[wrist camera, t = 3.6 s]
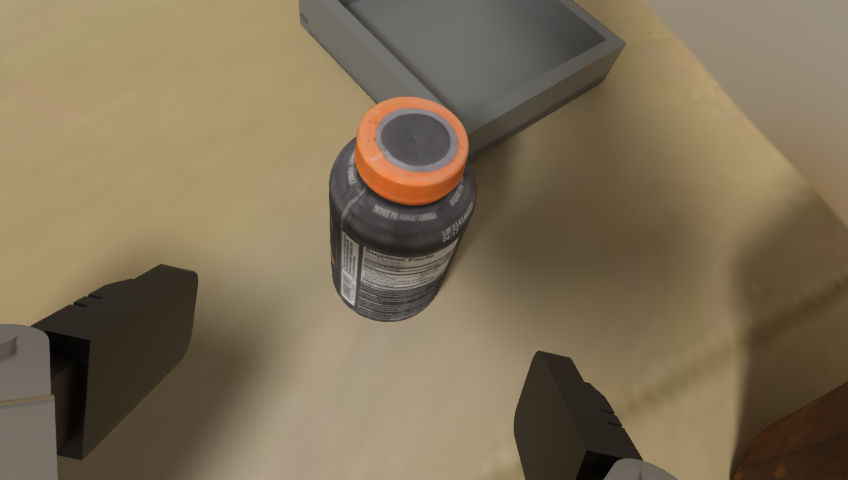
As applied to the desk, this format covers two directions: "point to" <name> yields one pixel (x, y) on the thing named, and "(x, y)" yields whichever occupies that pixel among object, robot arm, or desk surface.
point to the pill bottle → (399, 207)
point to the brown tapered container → (803, 443)
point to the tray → (468, 56)
